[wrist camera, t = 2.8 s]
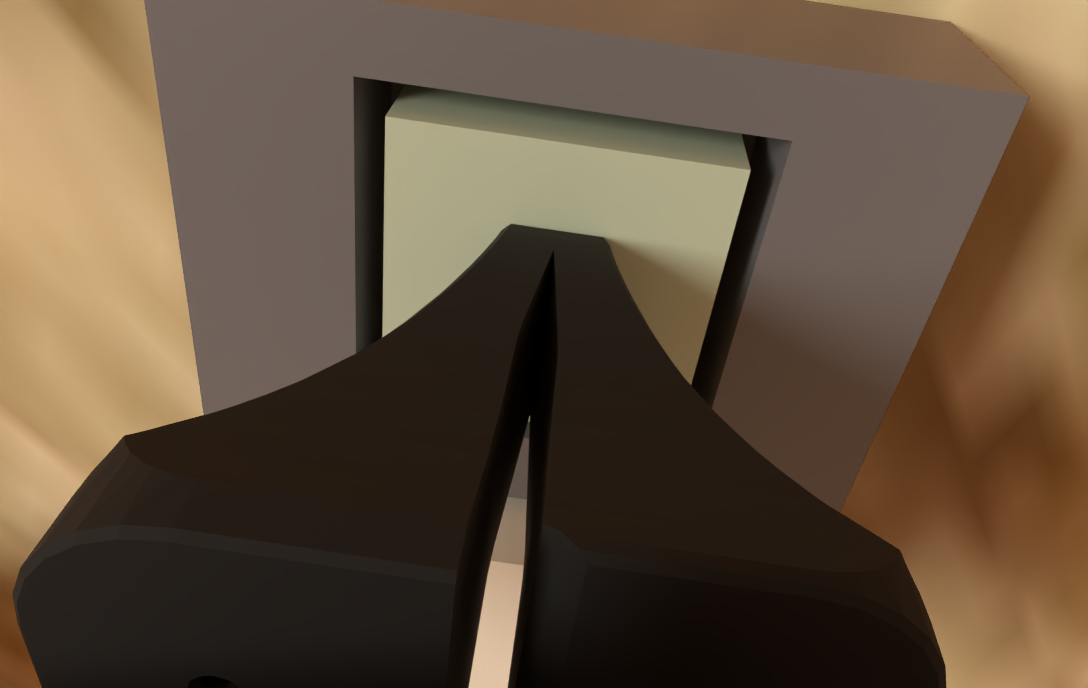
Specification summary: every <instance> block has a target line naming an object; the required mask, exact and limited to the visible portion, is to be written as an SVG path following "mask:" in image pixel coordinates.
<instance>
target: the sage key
mask: <svg viewBox="0 0 1088 688" xmlns="http://www.w3.org/2000/svg"><path fill="white" fill-rule="evenodd" d="M750 171H751V169H750V165H749V161H748V158H747V154H746V150H745V146H744V142H743V138H742V134H741V133H735V132H728V131H721V130H714V129H707V128H701V127H694V126H687V125H680V124H674V123H667V122H660V121H653V120H646V119H640V118H633V117H626V116H619V115H612V114H606V113H599V112H592V111H585V110H579V109H572V108H565V107H558V106H551V105H545V104H538V103H531V102H524V101H517V100H511V99H504V98H497V97H490V96H484V95H477V94H470V93H463V92H456V91H450V90H443V89H436V88H429V87H423V86H416V85H409V84H406V85H405V86H404V88H403V90H402V91H401V93H400V94H399V96H398V97H397V99H396V100H395V102H394V104H393V105H392V107H391V108H390V110H389V111H388V113H387V114H386V116H385V173H384V251H383V330H382V337H384V336H385V335H387V334H388V333H390V332H391V331H393V330H394V329H396V328H397V327H398V326H400V325H401V324H403V323H404V322H405V321H407V320H408V319H409V318H411V317H412V316H413V315H414V314H416V313H417V312H418V311H419V310H421V309H422V308H423V307H424V306H425V305H427V304H428V303H429V302H430V301H432V300H433V299H434V298H435V297H437V296H438V295H439V294H440V293H441V292H443V291H444V290H445V289H446V288H447V287H448V286H449V285H450V284H451V283H452V282H453V281H455V280H456V279H457V278H458V277H459V276H460V275H461V274H462V273H463V272H464V271H465V270H466V269H467V268H468V267H469V266H470V265H471V264H472V263H473V262H474V261H475V260H476V259H477V258H478V257H479V256H480V255H481V254H482V253H483V252H484V251H485V250H486V248H487V247H488V246H489V245H490V244H491V243H492V242H493V240H494V239H495V238H496V237H497V236H498V234H499V233H500V232H501V230H502V229H504V228H505V227H507V226H508V225H510V224H517V225H524V226H530V227H537V228H544V229H551V230H558V231H564V232H571V233H578V234H585V235H592V236H599V237H604V239H605V240H606V241H607V243H608V244H609V246H610V248H611V251H612V254H613V256H614V259H615V262H616V264H617V266H618V269H619V271H620V273H621V275H622V277H623V280H624V282H625V284H626V286H627V288H628V290H629V292H630V294H631V296H632V298H633V300H634V301H635V303H636V305H637V307H638V308H639V310H640V312H641V314H642V315H643V317H644V319H645V321H646V322H647V324H648V326H649V327H650V329H651V331H652V332H653V334H654V335H655V337H656V339H657V340H658V342H659V343H660V345H661V346H662V348H663V349H664V350H665V352H666V353H667V355H668V356H669V358H670V359H671V361H672V362H673V363H674V365H675V366H676V367H677V369H678V370H679V371H680V373H681V374H682V375H683V377H684V378H685V379H686V380H687V381H688V383H689V384H690V385H691V383H692V380H693V376H694V373H695V369H696V365H697V362H698V358H699V355H700V351H701V347H702V344H703V340H704V337H705V333H706V329H707V326H708V322H709V319H710V315H711V311H712V308H713V304H714V301H715V297H716V293H717V290H718V286H719V283H720V279H721V276H722V272H723V268H724V265H725V261H726V258H727V254H728V250H729V247H730V243H731V240H732V236H733V232H734V229H735V225H736V222H737V218H738V214H739V211H740V207H741V204H742V200H743V196H744V193H745V189H746V186H747V182H748V178H749V175H750ZM528 422H530V417H529V420H528Z"/></svg>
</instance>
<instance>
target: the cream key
mask: <svg viewBox="0 0 1088 688" xmlns="http://www.w3.org/2000/svg"><path fill="white" fill-rule="evenodd" d="M526 507H527V499H520V498H513V497H507V501H506V504H505V508H504V512H503V515H502V519H501V522H500V526H499V530H498V533H497V537H496V541H495V544H494V548H493V553H492V557H491V562H490V566H489V570H488V575H487V581H486V587H485V593H484V599H483V604H482V610H481V616H480V622H479V628H478V634H477V640H476V646H475V652H474V658H473V664H472V670H471V676H470V682H469V688H508V681H509V674H510V667H511V659H512V652H513V645H514V638H515V630H516V623H517V616H518V609H519V602H520V594H521V587H522V579H523V567H524V555H525V534H526Z"/></svg>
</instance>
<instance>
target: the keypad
mask: <svg viewBox="0 0 1088 688" xmlns="http://www.w3.org/2000/svg"><path fill="white" fill-rule="evenodd" d="M144 2H145V9H146V15H147V22H148V29H149V36H150V43H151V50H152V57H153V64H154V71H155V78H156V85H157V92H158V99H159V106H160V113H161V120H162V127H163V134H164V141H165V148H166V155H167V162H168V169H169V176H170V183H171V190H172V197H173V203H174V210H175V217H176V224H177V231H178V238H179V245H180V252H181V259H182V266H183V273H184V280H185V287H186V294H187V301H188V308H189V315H190V322H191V329H192V336H193V343H194V350H195V357H196V364H197V371H198V378H199V385H200V391H201V398H202V405H203V412H204V415H206V414H210V413H213V412H216V411H220V410H223V409H226V408H229V407H232V406H235V405H238V404H241V403H244V402H246V401H249V400H252V399H255V398H258V397H260V396H263V395H266V394H269V393H271V392H274V391H276V390H279V389H281V388H284V387H286V386H289V385H291V384H294V383H296V382H298V381H301V380H303V379H305V378H307V377H309V376H311V375H313V374H315V373H317V372H319V371H321V370H324V369H326V368H328V367H330V366H332V365H334V364H336V363H338V362H340V361H342V360H344V359H346V358H348V357H350V356H352V355H354V354H356V353H358V352H360V351H361V350H363V349H365V348H366V347H368V346H370V345H371V344H373V343H374V342H376V341H378V340H379V339H381V338H382V330H383V251H384V173H385V116H386V114H387V113H388V111H389V110H390V108H391V107H392V105H393V104H394V102H395V100H396V99H397V97H398V96H399V94H400V93H401V91H402V90H403V88H404V86H405V85H406V84H409V85H416V86H423V87H429V88H436V89H443V90H450V91H456V92H463V93H470V94H477V95H484V96H490V97H497V98H504V99H511V100H517V101H524V102H531V103H538V104H545V105H551V106H558V107H565V108H572V109H579V110H585V111H592V112H599V113H606V114H612V115H619V116H626V117H633V118H640V119H646V120H653V121H660V122H667V123H674V124H680V125H687V126H694V127H701V128H707V129H714V130H721V131H728V132H735V133H741V134H742V138H743V142H744V146H745V150H746V154H747V158H748V161H749V165H750V169H751V171H750V175H749V178H748V182H747V186H746V189H745V193H744V196H743V200H742V204H741V207H740V211H739V214H738V218H737V222H736V225H735V229H734V232H733V236H732V240H731V243H730V247H729V250H728V254H727V258H726V261H725V265H724V268H723V272H722V276H721V279H720V283H719V286H718V290H717V293H716V297H715V301H714V304H713V308H712V311H711V315H710V319H709V322H708V326H707V329H706V333H705V337H704V340H703V344H702V347H701V351H700V355H699V358H698V362H697V365H696V369H695V373H694V376H693V380H692V383H691V386H692V387H693V388H694V389H695V391H696V392H697V393H698V394H699V395H700V396H701V397H702V399H703V400H704V401H705V402H706V403H707V404H708V405H709V406H710V407H711V408H712V409H713V410H714V411H715V412H716V413H717V414H718V415H719V416H720V417H721V418H722V419H723V420H724V421H725V422H726V423H727V424H728V425H729V426H730V427H731V428H732V429H733V430H734V431H735V432H737V433H738V434H739V435H740V436H741V437H742V438H743V439H744V440H745V441H746V442H747V443H748V444H750V445H751V446H752V447H753V448H754V449H755V450H756V451H757V452H759V453H760V454H761V455H762V456H763V457H765V458H766V459H767V460H768V461H770V462H771V463H772V464H773V465H774V466H776V467H777V468H778V469H779V470H781V471H782V472H783V473H785V474H786V475H787V476H789V477H790V478H791V479H793V480H794V481H795V482H797V483H798V484H799V485H801V486H802V487H803V488H805V489H806V490H807V491H809V492H810V493H811V494H813V495H814V496H815V497H817V498H818V499H820V500H821V501H823V502H824V503H825V504H827V505H828V506H830V507H832V508H833V509H835V510H836V511H838V512H840V511H841V509H842V507H843V504H844V502H845V500H846V498H847V496H848V494H849V491H850V489H851V487H852V485H853V483H854V480H855V478H856V476H857V474H858V472H859V469H860V467H861V465H862V463H863V461H864V458H865V456H866V454H867V452H868V450H869V447H870V445H871V443H872V441H873V439H874V436H875V434H876V432H877V430H878V428H879V425H880V423H881V421H882V419H883V417H884V415H885V412H886V410H887V408H888V406H889V404H890V401H891V399H892V397H893V395H894V393H895V390H896V388H897V386H898V384H899V382H900V379H901V377H902V375H903V373H904V371H905V368H906V366H907V364H908V362H909V360H910V357H911V355H912V353H913V351H914V349H915V346H916V344H917V342H918V340H919V338H920V336H921V333H922V331H923V329H924V327H925V325H926V322H927V320H928V318H929V316H930V314H931V311H932V309H933V307H934V305H935V303H936V300H937V298H938V296H939V294H940V292H941V289H942V287H943V285H944V283H945V281H946V278H947V276H948V274H949V272H950V270H951V268H952V265H953V263H954V261H955V259H956V257H957V254H958V252H959V250H960V248H961V246H962V243H963V241H964V239H965V237H966V235H967V232H968V230H969V228H970V226H971V224H972V221H973V219H974V217H975V215H976V213H977V210H978V208H979V206H980V204H981V202H982V199H983V197H984V195H985V193H986V191H987V189H988V186H989V184H990V182H991V180H992V178H993V175H994V173H995V171H996V169H997V167H998V164H999V162H1000V160H1001V158H1002V156H1003V153H1004V151H1005V149H1006V147H1007V145H1008V142H1009V140H1010V138H1011V136H1012V134H1013V131H1014V129H1015V127H1016V125H1017V123H1018V120H1019V118H1020V116H1021V114H1022V112H1023V110H1024V107H1025V105H1026V103H1027V101H1028V99H1029V95H1027V94H1026V93H1025V92H1024V91H1023V90H1022V89H1021V88H1020V87H1019V86H1018V85H1017V84H1016V83H1015V82H1014V81H1013V80H1012V79H1010V78H1009V77H1008V76H1007V75H1006V74H1005V73H1004V72H1003V71H1002V70H1001V69H1000V68H999V67H998V66H997V65H996V64H994V63H993V62H992V61H991V60H990V59H989V58H988V57H987V56H986V55H985V54H984V53H983V52H982V51H981V50H980V49H979V48H977V47H976V46H975V45H974V44H973V43H972V42H971V41H970V40H969V39H968V38H967V37H966V36H965V35H964V34H963V33H962V32H960V31H959V30H958V29H957V28H956V27H955V26H954V25H953V24H952V23H951V22H947V21H940V20H933V19H926V18H920V17H913V16H906V15H899V14H892V13H886V12H879V11H872V10H865V9H858V8H852V7H845V6H838V5H831V4H824V3H818V2H811V1H804V0H144ZM529 426H530V422H528V424H527V428H526V432H525V435H524V439H523V442H522V446H521V450H520V453H519V457H518V461H517V464H516V468H515V472H514V475H513V479H512V483H511V486H510V490H509V493H508V497H513V498H520V499H527V479H528V452H529Z"/></svg>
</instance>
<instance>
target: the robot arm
mask: <svg viewBox="0 0 1088 688" xmlns="http://www.w3.org/2000/svg"><path fill="white" fill-rule="evenodd" d="M529 417H530V426H529V452H528V479H527V507H526V534H525V555H524V567H523V579H522V587H521V594H520V602H519V609H518V616H517V623H516V630H515V638H514V645H513V652H512V659H511V667H510V674H509V681H508V688H946V671H945V664H944V660H943V657H942V654H941V651H940V648H939V645H938V642H937V639H936V636H935V633H934V630H933V627H932V624H931V621H930V618H929V616H928V613H927V611H926V608H925V605H924V603H923V600H922V598H921V595H920V593H919V591H918V589H917V587H916V585H915V583H914V581H913V578H912V576H911V574H910V572H909V570H908V568H907V566H906V563H905V561H904V558H903V556H902V553H901V552H900V550H899V549H897V548H896V547H894V546H892V545H891V544H889V543H888V542H886V541H884V540H883V539H881V538H880V537H878V536H876V535H875V534H873V533H872V532H870V531H868V530H867V529H865V528H864V527H862V526H860V525H859V524H857V523H856V522H854V521H852V520H851V519H849V518H848V517H846V516H844V515H843V514H841V513H840V512H838V511H836V510H835V509H833V508H832V507H830V506H828V505H827V504H825V503H824V502H823V501H821V500H820V499H818V498H817V497H815V496H814V495H813V494H811V493H810V492H809V491H807V490H806V489H805V488H803V487H802V486H801V485H799V484H798V483H797V482H795V481H794V480H793V479H791V478H790V477H789V476H787V475H786V474H785V473H783V472H782V471H781V470H779V469H778V468H777V467H776V466H774V465H773V464H772V463H771V462H770V461H768V460H767V459H766V458H765V457H763V456H762V455H761V454H760V453H759V452H757V451H756V450H755V449H754V448H753V447H752V446H751V445H750V444H748V443H747V442H746V441H745V440H744V439H743V438H742V437H741V436H740V435H739V434H738V433H737V432H735V431H734V430H733V429H732V428H731V427H730V426H729V425H728V424H727V423H726V422H725V421H724V420H723V419H722V418H721V417H720V416H719V415H718V414H717V413H716V412H715V411H714V410H713V409H712V408H711V407H710V406H709V405H708V404H707V403H706V402H705V401H704V400H703V399H702V397H701V396H700V395H699V394H698V393H697V392H696V391H695V389H694V388H693V387H692V386H691V385H690V384H689V383H688V381H687V380H686V379H685V378H684V377H683V375H682V374H681V373H680V371H679V370H678V369H677V367H676V366H675V365H674V363H673V362H672V361H671V359H670V358H669V356H668V355H667V353H666V352H665V350H664V349H663V348H662V346H661V345H660V343H659V342H658V340H657V339H656V337H655V335H654V334H653V332H652V331H651V329H650V327H649V326H648V324H647V322H646V321H645V319H644V317H643V315H642V314H641V312H640V310H639V308H638V307H637V305H636V303H635V301H634V300H633V298H632V296H631V294H630V292H629V290H628V288H627V286H626V284H625V282H624V280H623V277H622V275H621V273H620V271H619V269H618V266H617V264H616V262H615V259H614V256H613V254H612V251H611V248H610V246H609V244H608V243H607V241H606V240H605V239H604V237H599V236H592V235H585V234H578V233H571V232H564V231H558V230H551V229H544V228H537V227H530V226H524V225H517V224H510V225H508V226H507V227H505V228H504V229H502V230H501V232H500V233H499V234H498V236H497V237H496V238H495V239H494V240H493V242H492V243H491V244H490V245H489V246H488V247H487V248H486V250H485V251H484V252H483V253H482V254H481V255H480V256H479V257H478V258H477V259H476V260H475V261H474V262H473V263H472V264H471V265H470V266H469V267H468V268H467V269H466V270H465V271H464V272H463V273H462V274H461V275H460V276H459V277H458V278H457V279H456V280H455V281H453V282H452V283H451V284H450V285H449V286H448V287H447V288H446V289H445V290H444V291H443V292H441V293H440V294H439V295H438V296H437V297H435V298H434V299H433V300H432V301H430V302H429V303H428V304H427V305H425V306H424V307H423V308H422V309H421V310H419V311H418V312H417V313H416V314H414V315H413V316H412V317H411V318H409V319H408V320H407V321H405V322H404V323H403V324H401V325H400V326H398V327H397V328H396V329H394V330H393V331H391V332H390V333H388V334H387V335H385V336H384V337H382V338H381V339H379V340H378V341H376V342H374V343H373V344H371V345H370V346H368V347H366V348H365V349H363V350H361V351H360V352H358V353H356V354H354V355H352V356H350V357H348V358H346V359H344V360H342V361H340V362H338V363H336V364H334V365H332V366H330V367H328V368H326V369H324V370H321V371H319V372H317V373H315V374H313V375H311V376H309V377H307V378H305V379H303V380H301V381H298V382H296V383H294V384H291V385H289V386H286V387H284V388H281V389H279V390H276V391H274V392H271V393H269V394H266V395H263V396H260V397H258V398H255V399H252V400H249V401H246V402H244V403H241V404H238V405H235V406H232V407H229V408H226V409H223V410H220V411H216V412H213V413H210V414H206V415H202V416H199V417H195V418H191V419H188V420H184V421H180V422H176V423H173V424H169V425H165V426H162V427H158V428H154V429H150V430H147V431H143V432H138V433H134V434H130V435H125V436H124V437H123V438H122V439H121V440H120V441H119V442H118V444H117V445H116V446H115V447H114V448H113V449H112V450H111V452H110V453H109V454H108V455H107V456H106V457H105V458H104V459H103V460H102V461H101V462H100V463H99V465H98V466H97V467H96V468H95V469H94V470H93V471H92V472H91V473H90V475H89V476H88V477H87V478H86V480H85V481H84V482H83V484H82V485H81V486H80V487H79V489H78V490H77V491H76V492H75V494H74V495H73V496H72V498H71V499H70V500H69V502H68V503H67V505H66V506H65V507H64V509H63V510H62V511H61V513H60V514H59V516H58V517H57V518H56V520H55V521H54V522H53V524H52V525H51V527H50V528H49V529H48V531H47V532H46V533H45V535H44V536H43V537H42V539H41V540H40V542H39V543H38V544H37V546H36V547H35V548H34V550H33V551H32V553H31V554H30V555H29V557H28V558H27V559H26V561H25V562H24V564H23V565H22V566H21V568H20V571H19V574H18V578H17V581H16V584H15V588H14V591H13V599H14V605H15V611H16V617H17V622H18V625H19V628H20V630H21V633H22V636H23V638H24V641H25V644H26V646H27V649H28V652H29V654H30V657H31V660H32V662H33V665H34V667H35V670H36V673H37V675H38V678H39V681H40V683H41V686H42V688H469V682H470V676H471V670H472V664H473V658H474V652H475V646H476V640H477V634H478V628H479V622H480V616H481V610H482V604H483V599H484V593H485V587H486V581H487V575H488V570H489V566H490V562H491V557H492V553H493V548H494V544H495V541H496V537H497V533H498V530H499V526H500V522H501V519H502V515H503V512H504V508H505V504H506V501H507V497H508V493H509V490H510V486H511V483H512V479H513V475H514V472H515V468H516V464H517V461H518V457H519V453H520V450H521V446H522V442H523V439H524V435H525V432H526V428H527V424H528V420H529Z"/></svg>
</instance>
